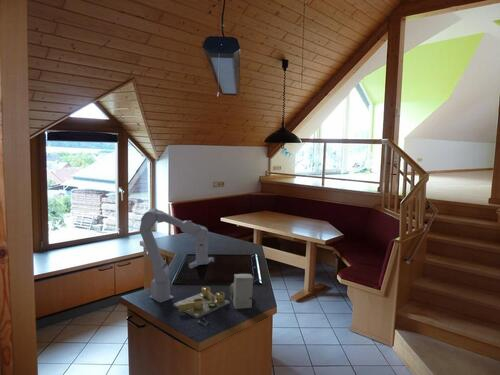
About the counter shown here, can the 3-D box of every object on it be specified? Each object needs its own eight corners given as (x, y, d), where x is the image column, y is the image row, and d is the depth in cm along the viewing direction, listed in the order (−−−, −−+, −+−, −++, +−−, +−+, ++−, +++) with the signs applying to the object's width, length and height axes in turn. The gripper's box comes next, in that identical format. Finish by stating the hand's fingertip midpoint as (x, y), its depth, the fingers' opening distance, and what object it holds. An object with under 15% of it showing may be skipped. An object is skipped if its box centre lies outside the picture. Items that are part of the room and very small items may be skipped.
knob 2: (200, 294, 176) (200, 286, 176) (208, 292, 178) (208, 285, 178) (208, 303, 166) (208, 295, 166) (217, 301, 169) (217, 293, 168)
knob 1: (200, 304, 165) (201, 296, 164) (204, 308, 161) (204, 300, 161) (177, 309, 160) (177, 301, 159) (180, 313, 156) (180, 305, 155)
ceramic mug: (232, 293, 182) (232, 279, 181) (248, 295, 180) (248, 280, 179) (227, 302, 171) (227, 287, 170) (243, 304, 170) (243, 289, 169)
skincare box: (235, 309, 164) (235, 278, 163) (232, 303, 170) (233, 273, 169) (252, 308, 166) (253, 277, 164) (250, 302, 172) (250, 272, 170)
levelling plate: (172, 306, 166) (172, 295, 165) (205, 293, 181) (205, 283, 180) (196, 318, 155) (196, 306, 154) (229, 303, 170) (229, 292, 169)
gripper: (195, 257, 165) (195, 285, 166) (218, 250, 175) (218, 277, 177) (185, 253, 169) (185, 281, 171) (208, 247, 180) (208, 273, 182)
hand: (201, 278), depth 174 cm, fingers closed
